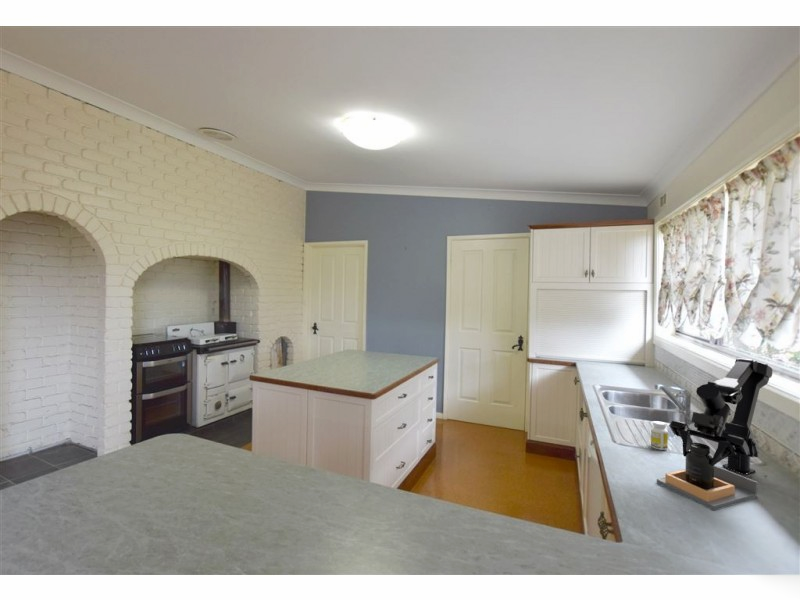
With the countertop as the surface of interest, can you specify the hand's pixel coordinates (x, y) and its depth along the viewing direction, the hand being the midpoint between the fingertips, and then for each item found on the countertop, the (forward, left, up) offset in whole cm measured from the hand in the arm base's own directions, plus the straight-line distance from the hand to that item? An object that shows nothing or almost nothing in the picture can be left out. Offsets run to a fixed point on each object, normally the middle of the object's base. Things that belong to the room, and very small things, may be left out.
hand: (697, 460), depth 113 cm
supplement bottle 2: (-1, 0, -8) cm, 8 cm away
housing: (-4, 0, -10) cm, 11 cm away
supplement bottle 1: (-22, -27, -10) cm, 37 cm away
